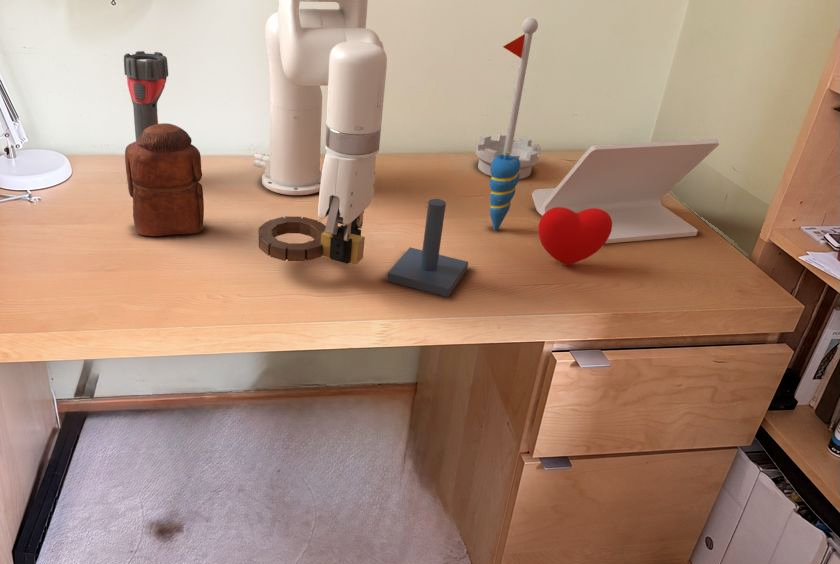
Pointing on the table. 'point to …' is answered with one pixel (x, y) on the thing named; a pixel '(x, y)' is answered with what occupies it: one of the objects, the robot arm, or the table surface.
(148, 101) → the flashlight
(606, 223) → the heart
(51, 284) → the table surface
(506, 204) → the ornament
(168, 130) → the wooden figurine
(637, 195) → the tablet stand
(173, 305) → the table surface
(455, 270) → the peg rack
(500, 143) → the flag stand
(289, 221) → the walnut ring
